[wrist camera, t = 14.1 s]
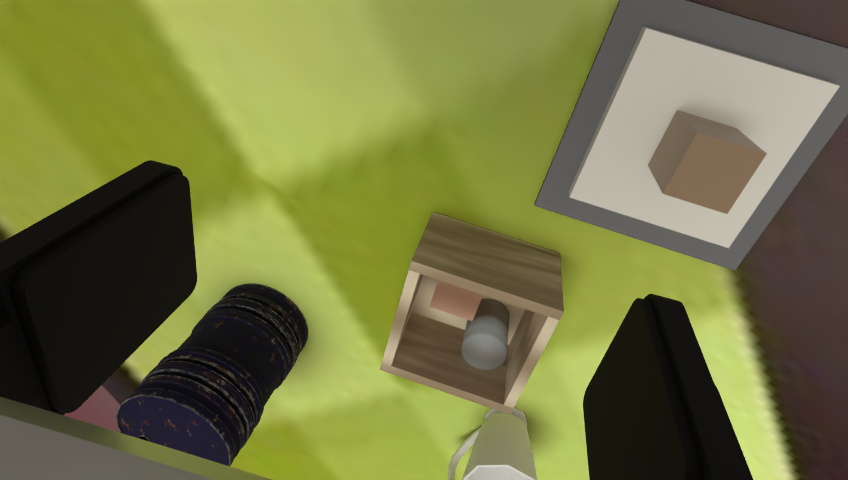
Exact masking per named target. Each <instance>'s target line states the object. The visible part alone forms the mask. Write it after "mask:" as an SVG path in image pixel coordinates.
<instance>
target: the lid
mask: <svg viewBox="0 0 848 480" xmlns="http://www.w3.org/2000/svg"><path fill="white" fill-rule="evenodd" d="M839 87H840V86H839V85H836V84H834V83H831V82H829V81H825V80H822V79H818V78H815V77H812V76H808V75H805V74H802V73H798V72H795V71H792V70H788V69H785V68H782V67H778V66H775V65H772V64H768V63H765V62H762V61H758V60H755V59H752V58H748V57H745V56H742V55H738V54H735V53H732V52H728V51H725V50H721V49H718V48H715V47H711V46H708V45H705V44H701V43H698V42H695V41H691V40H688V39H685V38H681V37H678V36H675V35H671V34H668V33H665V32H661V31H658V30H655V29H651V28H648V27H645V26H643V27H642V29H641V31H640V33H639V36H638V38H637V40H636V42H635V45H634V47H633V49H632V51H631V53H630V56H629V58H628V60H627V62H626V65H625V67H624V69H623V71H622V73H621V76H620V78H619V80H618V82H617V85H616V87H615V89H614V91H613V93H612V96H611V98H610V100H609V102H608V105H607V107H606V109H605V111H604V113H603V116H602V118H601V120H600V122H599V125H598V127H597V129H596V131H595V133H594V136H593V138H592V140H591V142H590V145H589V147H588V149H587V151H586V153H585V156H584V158H583V160H582V162H581V165H580V167H579V169H578V171H577V173H576V176H575V178H574V180H573V182H572V185H571V187H570V189H569V197H570V198H573V199H576V200H579V201H582V202H585V203H589V204H592V205H595V206H598V207H601V208H604V209H607V210H611V211H614V212H617V213H620V214H623V215H626V216H629V217H632V218H636V219H639V220H642V221H645V222H648V223H651V224H654V225H657V226H661V227H664V228H667V229H670V230H673V231H676V232H679V233H683V234H686V235H689V236H692V237H695V238H698V239H701V240H704V241H708V242H711V243H714V244H717V245H720V246H723V247H726V248H729V247H730V245H731V244H732V243H733V241H734V240H735V238H736V237H737V235H738V234H739V232H740V231H741V229H742V228H743V227H744V225H745V224H746V222H747V221H748V219H749V218H750V216H751V215H752V213H753V212H754V211H755V209H756V208H757V206H758V205H759V203H760V202H761V200H762V199H763V197H764V196H765V195H766V193H767V192H768V190H769V189H770V187H771V186H772V184H773V183H774V181H775V180H776V178H777V177H778V176H779V174H780V173H781V171H782V170H783V168H784V167H785V165H786V164H787V162H788V161H789V160H790V158H791V157H792V155H793V154H794V152H795V151H796V149H797V148H798V146H799V145H800V144H801V142H802V141H803V139H804V138H805V136H806V135H807V133H808V132H809V130H810V129H811V128H812V126H813V125H814V123H815V122H816V120H817V119H818V117H819V116H820V114H821V113H822V111H823V110H824V109H825V107H826V106H827V104H828V103H829V101H830V100H831V98H832V97H833V95H834V94H835V93H836V91H837V90H838V88H839Z"/></svg>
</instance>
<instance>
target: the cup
mask: <svg viewBox="0 0 848 480" xmlns="http://www.w3.org/2000/svg"><path fill="white" fill-rule="evenodd" d="M485 420H486V421H485V422H484V423H483V424H482V426H481V427H480V428H479V429H477V430H476V431H475V432H474V433H473V434H472V435H471V436H470V437H469V438H468V439H467V440H466V441H465V442H464V443H463V444H462V445H461V446H460V447H459V448H458V449H457V451H456V452H455V453H454V455H453V457H452V459H451V462H450V464H449V470H448V479H449V480H455V470H456V467H457V464H458V462H459V460H460V459H461V457H462V456H463V455H464V453H465V452H466V451H467V450H468V449H469V448H470V447H471V446H472V445H473V444H474V445H473V448H472V452H471V455H470V458H469V461H468V464H467V466H466V469H465V472H464V475H463V479H462V480H537V476H536V469H535V462H534V455H533V450H532V447H531V443H530V439H529V435H528V432H527V426H528V424H527V421H526V417H525V413H524V412H522V411H521V410H519V409H517V408H515V407H514V408H513V410H512V412H511V414H510V415H509V414H507V413H504V412H501V411H498V410H495V409H492V408H491V409H490V410H489V411H488V412H487V413H486V414H485Z"/></svg>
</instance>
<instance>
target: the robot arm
mask: <svg viewBox="0 0 848 480" xmlns="http://www.w3.org/2000/svg"><path fill="white" fill-rule="evenodd" d="M196 282H197V271H196V259H195V247H194V235H193V223H192V211H191V198H190V186H189V181H188V179H187V178H186V177H185V176H183V173H182V171H181V170H180V169H179V168H178V167H175V166H171V165H167V164H163V163H160V162H156V161H150V160H149V161H146V162H144V163H142V164H140V165H139V166H137V167H135V168H133V169H131V170H130V171H128V172H126V173H124V174H123V175H121V176H119V177H117V178H115V179H114V180H112V181H110V182H108V183H107V184H105V185H103V186H101V187H99V188H98V189H96V190H94V191H92V192H90V193H89V194H87V195H85V196H83V197H82V198H80V199H78V200H76V201H74V202H73V203H71V204H69V205H67V206H65V207H64V208H62V209H60V210H58V211H57V212H55V213H53V214H51V215H49V216H48V217H46V218H44V219H42V220H41V221H39V222H37V223H35V224H33V225H32V226H30V227H28V228H26V229H24V230H23V231H21V232H19V233H17V234H16V235H14V236H12V237H10V238H8V239H7V240H5V241H3V242H1V243H0V480H272V479H269V478H265V477H262V476H259V475H256V474H252V473H249V472H246V471H243V470H240V469H236V468H233V467H230V466H227V465H223V464H220V463H217V462H214V461H211V460H207V459H204V458H201V457H198V456H194V455H191V454H188V453H185V452H181V451H178V450H175V449H172V448H168V447H165V446H162V445H159V444H155V443H152V442H149V441H145V440H142V439H139V438H136V437H132V436H129V435H126V434H122V433H119V432H116V431H113V430H109V429H105V428H103V427H99V426H96V425H93V424H89V423H86V422H83V421H80V420H76V419H73V418H70V417H67V416H63V415H64V414H65V413H70V412H73V411H75V410H76V409H77V408H79V407H80V406H81V405H82V404H83V403H84V402H85V401H86V400H87V399H88V398H89V397H90V396H91V395H92V394H93V393H94V392H95V391H96V390H97V389H98V388H99V387H100V386H101V385H102V384H103V383H104V382H105V381H106V380H107V379H108V378H109V377H110V376H111V375H112V374H113V373H114V372H115V371H116V370H117V369H118V368H119V367H120V366H121V365H122V364H123V363H124V362H125V360H126V359H127V358H128V357H129V356H130V355H131V354H132V353H133V352H134V351H135V350H136V349H137V348H138V347H139V346H140V345H141V344H142V343H143V342H144V341H145V340H146V339H147V338H148V337H149V336H150V335H151V334H152V333H153V332H154V331H155V330H156V329H157V328H158V327H159V326H160V325H161V324H162V323H163V322H164V321H165V320H166V319H167V318H168V317H169V316H170V315H171V314H172V313H173V312H174V311H175V310H176V309H177V308H178V307H179V306H180V305H181V304H182V303H183V302H184V301H185V300H186V299H187V298H188V297H189V296H190V295H191V293H192V292H193V290H194V289H195V286H196ZM583 411H584V422H585V433H586V444H587V455H588V466H589V477H590V480H753V478H752V475H751V473H750V470H749V468H748V465H747V463H746V460H745V458H744V455H743V452H742V450H741V447H740V445H739V442H738V440H737V437H736V435H735V432H734V430H733V427H732V424H731V422H730V419H729V417H728V414H727V412H726V409H725V407H724V404H723V402H722V399H721V396H720V394H719V391H718V389H717V387H716V386H715V384H714V382H713V380H712V377H711V374H710V372H709V369H708V367H707V364H706V362H705V359H704V356H703V354H702V351H701V349H700V346H699V344H698V341H697V339H696V336H695V333H694V331H693V328H692V326H691V323H690V321H689V318H688V315H687V313H686V310H685V308H684V305H683V304H682V302H679V301H676V300H673V299H669V298H665V297H661V296H658V295H654V294H649V295H647V296H646V297H645V298H644V299H640V298H637V299H636V300H635V301H634V302H633V304H632V305H631V307H630V309H629V311H628V313H627V315H626V316H625V318H624V320H623V322H622V324H621V326H620V328H619V329H618V331H617V333H616V335H615V337H614V339H613V341H612V342H611V344H610V346H609V348H608V350H607V352H606V354H605V355H604V357H603V359H602V361H601V363H600V365H599V366H598V368H597V370H596V372H595V374H594V376H593V378H592V379H591V381H590V383H589V385H588V387H587V389H586V392H585V395H584V400H583Z"/></svg>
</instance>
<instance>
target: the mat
mask: <svg viewBox="0 0 848 480" xmlns="http://www.w3.org/2000/svg"><path fill="white" fill-rule="evenodd" d="M643 26H645V27H648V28H651V29H655V30H658V31H661V32H665V33H668V34H671V35H675V36H678V37H681V38H685V39H688V40H691V41H695V42H698V43H701V44H705V45H708V46H711V47H715V48H718V49H721V50H725V51H728V52H732V53H735V54H738V55H742V56H745V57H748V58H752V59H755V60H758V61H762V62H765V63H768V64H772V65H775V66H778V67H782V68H785V69H788V70H792V71H795V72H798V73H802V74H805V75H808V76H812V77H815V78H818V79H822V80H825V81H829V82H831V83H834V84H836V85H839V86H840V87H839V88H838V90H837V91H836V93H835V94H834V95H833V97H832V98H831V100H830V101H829V103H828V104H827V106H826V107H825V109H824V110H823V111H822V113H821V114H820V116H819V117H818V119H817V120H816V122H815V123H814V125H813V126H812V128H811V129H810V130H809V132H808V133H807V135H806V136H805V138H804V139H803V141H802V142H801V144H800V145H799V146H798V148H797V149H796V151H795V152H794V154H793V155H792V157H791V158H790V160H789V161H788V162H787V164H786V165H785V167H784V168H783V170H782V171H781V173H780V174H779V176H778V177H777V178H776V180H775V181H774V183H773V184H772V186H771V187H770V189H769V190H768V192H767V193H766V195H765V196H764V197H763V199H762V200H761V202H760V203H759V205H758V206H757V208H756V209H755V211H754V212H753V213H752V215H751V216H750V218H749V219H748V221H747V222H746V224H745V225H744V227H743V228H742V229H741V231H740V232H739V234H738V235H737V237H736V238H735V240H734V241H733V243H732V244H731V245H730V247H729V248H726V247H723V246H720V245H717V244H714V243H711V242H708V241H704V240H701V239H698V238H695V237H692V236H689V235H686V234H683V233H679V232H676V231H673V230H670V229H667V228H664V227H661V226H657V225H654V224H651V223H648V222H645V221H642V220H639V219H636V218H632V217H629V216H626V215H623V214H620V213H617V212H614V211H611V210H607V209H604V208H601V207H598V206H595V205H592V204H589V203H585V202H582V201H579V200H576V199H573V198H570V197H569V189H570V187H571V185H572V182H573V180H574V178H575V176H576V173H577V171H578V169H579V167H580V165H581V162H582V160H583V158H584V156H585V153H586V151H587V149H588V147H589V145H590V142H591V140H592V138H593V136H594V133H595V131H596V129H597V127H598V125H599V122H600V120H601V118H602V116H603V113H604V111H605V109H606V107H607V105H608V102H609V100H610V98H611V96H612V93H613V91H614V89H615V87H616V85H617V82H618V80H619V78H620V76H621V73H622V71H623V69H624V67H625V65H626V62H627V60H628V58H629V56H630V53H631V51H632V49H633V47H634V45H635V42H636V40H637V38H638V36H639V33H640V31H641V29H642V27H643ZM847 114H848V49H847V48H844V47H841V46H837V45H834V44H830V43H827V42H824V41H820V40H817V39H814V38H810V37H807V36H804V35H800V34H797V33H794V32H790V31H787V30H784V29H780V28H777V27H773V26H770V25H767V24H763V23H760V22H757V21H753V20H750V19H747V18H743V17H740V16H737V15H733V14H730V13H727V12H723V11H720V10H716V9H713V8H710V7H706V6H703V5H700V4H696V3H693V2H690V1H686V0H620V1H619V3H618V6H617V8H616V10H615V13H614V15H613V17H612V20H611V22H610V25H609V27H608V29H607V32H606V34H605V37H604V39H603V41H602V44H601V46H600V49H599V51H598V53H597V56H596V58H595V60H594V63H593V65H592V68H591V70H590V72H589V75H588V77H587V80H586V82H585V84H584V87H583V89H582V91H581V94H580V96H579V99H578V101H577V103H576V106H575V108H574V111H573V113H572V115H571V118H570V120H569V122H568V125H567V127H566V130H565V132H564V134H563V137H562V139H561V142H560V144H559V146H558V149H557V151H556V153H555V156H554V158H553V161H552V163H551V165H550V168H549V170H548V173H547V175H546V177H545V180H544V182H543V185H542V187H541V189H540V192H539V194H538V196H537V199H536V201H535V205H534V206H537V207H540V208H543V209H546V210H550V211H553V212H556V213H559V214H562V215H565V216H568V217H571V218H574V219H577V220H580V221H583V222H587V223H590V224H593V225H596V226H599V227H602V228H605V229H608V230H611V231H614V232H617V233H620V234H624V235H627V236H630V237H633V238H636V239H639V240H642V241H645V242H648V243H651V244H654V245H657V246H661V247H664V248H667V249H670V250H673V251H676V252H679V253H682V254H685V255H688V256H691V257H694V258H698V259H701V260H704V261H707V262H710V263H713V264H716V265H719V266H722V267H725V268H728V269H732V270H736V268H737V267H738V265H739V264H740V263H741V261H742V260H743V259H744V257H745V256H746V254H747V253H748V252H749V250H750V249H751V247H752V246H753V245H754V243H755V242H756V240H757V239H758V238H759V236H760V235H761V233H762V232H763V231H764V229H765V228H766V227H767V225H768V224H769V222H770V221H771V220H772V218H773V217H774V215H775V214H776V213H777V211H778V210H779V208H780V207H781V206H782V204H783V203H784V202H785V200H786V199H787V197H788V196H789V195H790V193H791V192H792V190H793V189H794V188H795V186H796V185H797V183H798V182H799V181H800V179H801V178H802V176H803V175H804V174H805V172H806V171H807V170H808V168H809V167H810V165H811V164H812V163H813V161H814V160H815V158H816V157H817V156H818V154H819V153H820V151H821V150H822V149H823V147H824V146H825V144H826V143H827V142H828V140H829V139H830V138H831V136H832V135H833V133H834V132H835V131H836V129H837V128H838V126H839V125H840V124H841V122H842V121H843V119H844V118H845V117H846V115H847Z"/></svg>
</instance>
